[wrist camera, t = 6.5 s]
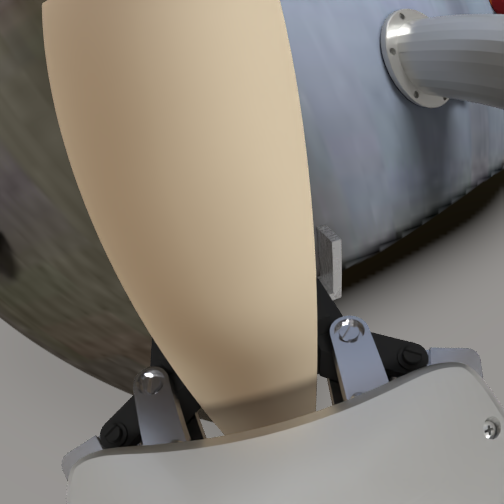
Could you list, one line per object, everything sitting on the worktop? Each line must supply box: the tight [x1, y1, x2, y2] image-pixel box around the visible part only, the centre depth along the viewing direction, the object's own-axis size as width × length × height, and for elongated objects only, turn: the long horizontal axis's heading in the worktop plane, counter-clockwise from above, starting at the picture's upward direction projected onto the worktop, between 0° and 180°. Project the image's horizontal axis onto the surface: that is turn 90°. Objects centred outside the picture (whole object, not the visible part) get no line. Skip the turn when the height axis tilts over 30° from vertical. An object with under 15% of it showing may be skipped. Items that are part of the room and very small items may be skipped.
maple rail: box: [42, 0, 317, 435], centre depth 10 cm, size 4×22×5 cm, turn 11°
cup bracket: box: [317, 225, 342, 300], centre depth 28 cm, size 9×8×4 cm
